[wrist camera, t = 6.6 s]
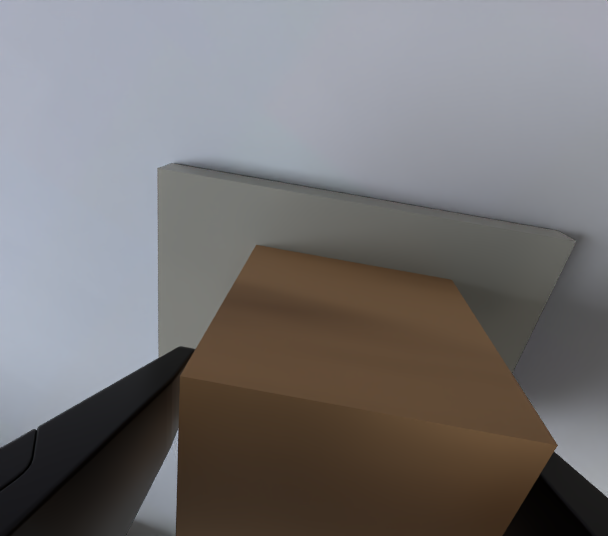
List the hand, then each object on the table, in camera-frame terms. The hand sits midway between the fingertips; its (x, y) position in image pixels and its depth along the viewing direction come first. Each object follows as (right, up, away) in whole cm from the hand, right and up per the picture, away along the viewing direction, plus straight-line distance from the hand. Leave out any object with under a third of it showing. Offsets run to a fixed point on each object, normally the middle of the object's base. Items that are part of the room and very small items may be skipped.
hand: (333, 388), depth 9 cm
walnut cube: (0, +1, +2) cm, 2 cm away
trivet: (0, +1, +2) cm, 3 cm away
